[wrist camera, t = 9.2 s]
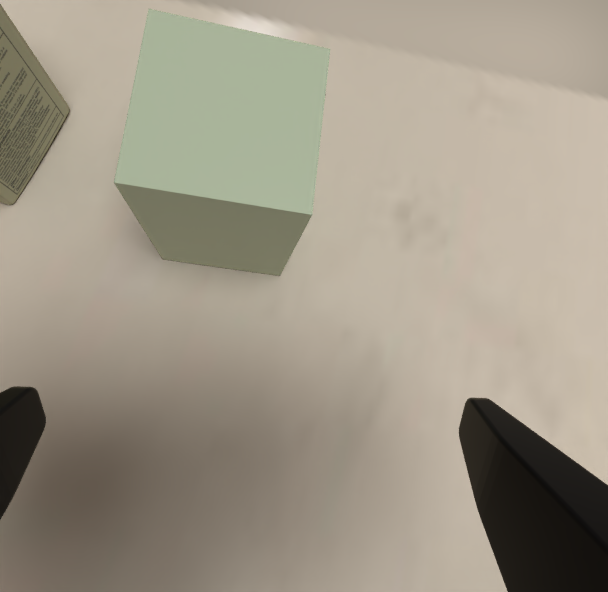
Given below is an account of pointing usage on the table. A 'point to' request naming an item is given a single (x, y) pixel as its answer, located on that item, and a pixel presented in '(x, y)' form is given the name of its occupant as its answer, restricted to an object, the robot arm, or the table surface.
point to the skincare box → (24, 111)
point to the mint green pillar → (222, 142)
